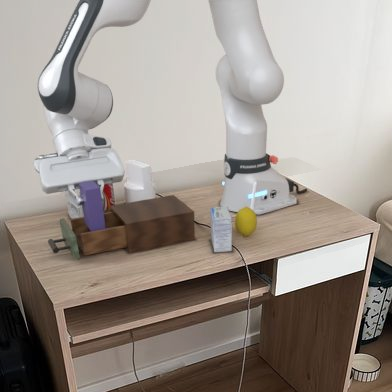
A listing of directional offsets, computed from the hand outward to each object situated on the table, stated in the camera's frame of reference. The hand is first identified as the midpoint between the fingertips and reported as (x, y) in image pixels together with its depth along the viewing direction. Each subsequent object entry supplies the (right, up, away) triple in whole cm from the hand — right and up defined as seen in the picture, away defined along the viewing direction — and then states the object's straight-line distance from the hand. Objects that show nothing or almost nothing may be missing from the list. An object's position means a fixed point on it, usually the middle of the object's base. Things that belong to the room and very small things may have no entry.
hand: (90, 202), depth 130 cm
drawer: (0, -9, +5) cm, 11 cm away
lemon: (+38, -7, +9) cm, 40 cm away
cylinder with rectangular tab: (+9, +7, +30) cm, 32 cm away
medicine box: (+31, -10, +5) cm, 33 cm away
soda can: (-2, +6, +28) cm, 29 cm away
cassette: (-8, 0, +21) cm, 22 cm away
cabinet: (+14, -6, +10) cm, 19 cm away
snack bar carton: (+1, -5, +2) cm, 6 cm away
